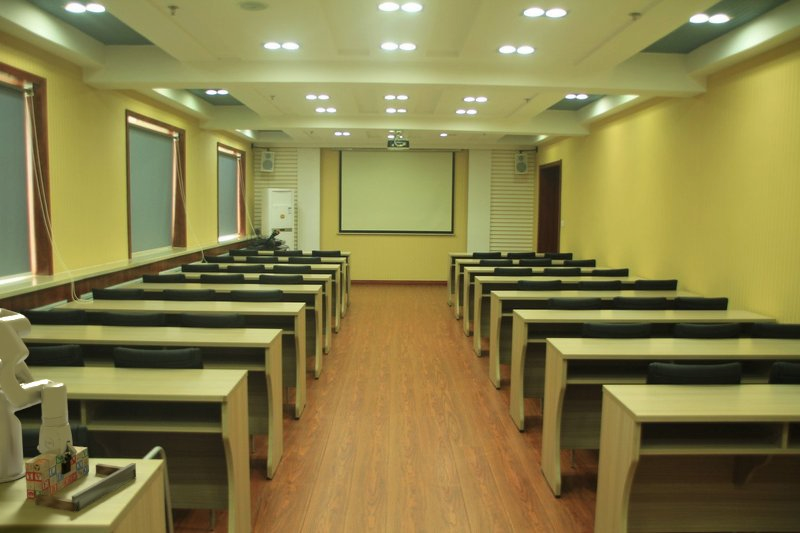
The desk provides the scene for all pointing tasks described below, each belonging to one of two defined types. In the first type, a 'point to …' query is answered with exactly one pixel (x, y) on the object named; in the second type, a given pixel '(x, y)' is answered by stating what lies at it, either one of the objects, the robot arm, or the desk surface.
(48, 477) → the stack of blocks
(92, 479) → the desk surface
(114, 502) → the desk surface
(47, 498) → the u-shaped fence
